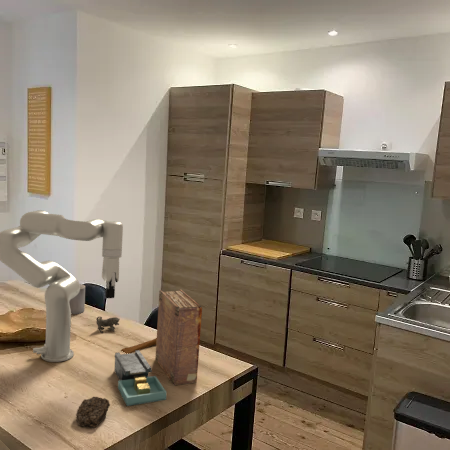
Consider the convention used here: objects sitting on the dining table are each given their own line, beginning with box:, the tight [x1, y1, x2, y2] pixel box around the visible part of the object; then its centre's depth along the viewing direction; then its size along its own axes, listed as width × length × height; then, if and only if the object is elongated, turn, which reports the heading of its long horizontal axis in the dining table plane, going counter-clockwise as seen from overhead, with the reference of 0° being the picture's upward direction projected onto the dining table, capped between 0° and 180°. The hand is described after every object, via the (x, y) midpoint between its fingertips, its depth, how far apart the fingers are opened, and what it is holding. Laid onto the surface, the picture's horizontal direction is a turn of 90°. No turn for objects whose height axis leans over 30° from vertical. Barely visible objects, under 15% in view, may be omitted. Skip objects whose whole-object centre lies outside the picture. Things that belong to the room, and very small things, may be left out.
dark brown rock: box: [75, 396, 111, 429], centre depth 150 cm, size 12×10×5 cm
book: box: [155, 289, 203, 386], centre depth 187 cm, size 25×9×30 cm, turn 24°
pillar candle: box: [69, 283, 86, 315], centre depth 249 cm, size 10×10×15 cm
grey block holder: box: [114, 350, 153, 381], centre depth 179 cm, size 10×17×7 cm, turn 26°
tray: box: [117, 375, 167, 407], centre depth 167 cm, size 14×13×3 cm
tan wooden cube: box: [136, 383, 150, 395], centre depth 166 cm, size 4×4×3 cm
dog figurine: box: [95, 316, 120, 334], centre depth 226 cm, size 12×6×7 cm, turn 122°
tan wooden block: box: [133, 375, 147, 391], centre depth 170 cm, size 4×4×3 cm
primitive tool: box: [120, 337, 157, 354], centre depth 209 cm, size 19×6×4 cm, turn 136°
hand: (109, 297), depth 188 cm, fingers closed
